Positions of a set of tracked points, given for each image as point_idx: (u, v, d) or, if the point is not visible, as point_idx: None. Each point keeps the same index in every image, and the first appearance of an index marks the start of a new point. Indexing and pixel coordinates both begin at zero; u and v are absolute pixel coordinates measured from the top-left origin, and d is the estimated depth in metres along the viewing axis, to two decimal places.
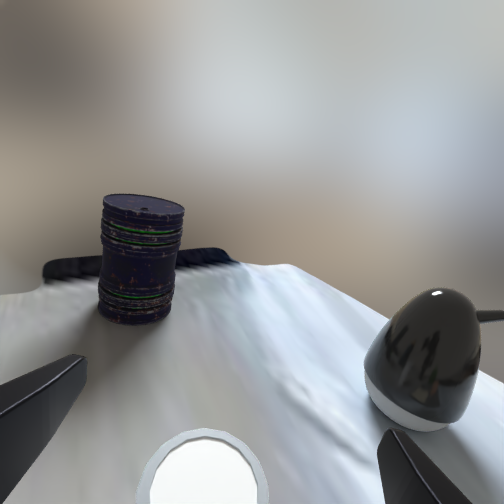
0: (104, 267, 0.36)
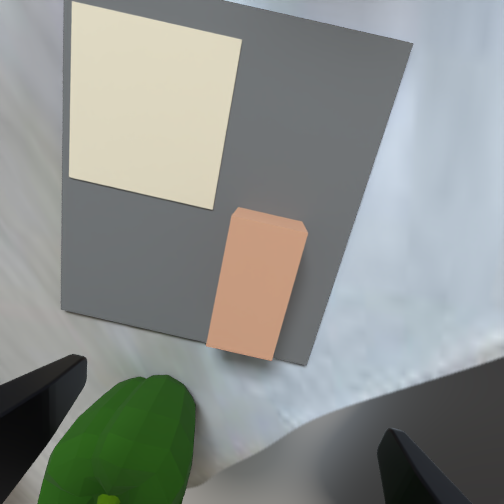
0: None
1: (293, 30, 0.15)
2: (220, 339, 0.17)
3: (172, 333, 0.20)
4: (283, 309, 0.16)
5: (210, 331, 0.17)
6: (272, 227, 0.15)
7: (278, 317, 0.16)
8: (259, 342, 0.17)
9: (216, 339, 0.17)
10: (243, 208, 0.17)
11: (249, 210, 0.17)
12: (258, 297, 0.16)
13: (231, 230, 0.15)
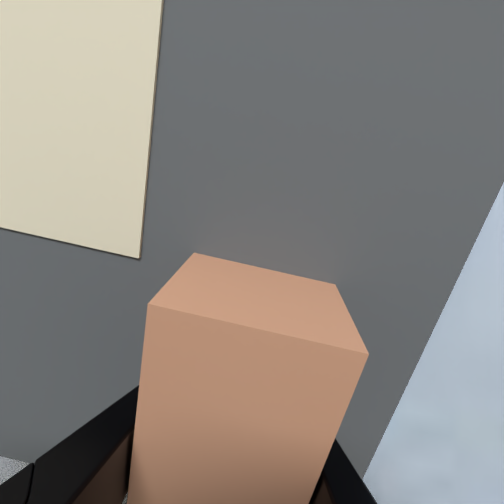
0: None
1: None
2: None
3: None
4: None
5: None
6: (266, 337, 0.05)
7: None
8: None
9: None
10: (204, 256, 0.08)
11: (217, 262, 0.08)
12: (233, 491, 0.06)
13: (152, 340, 0.05)
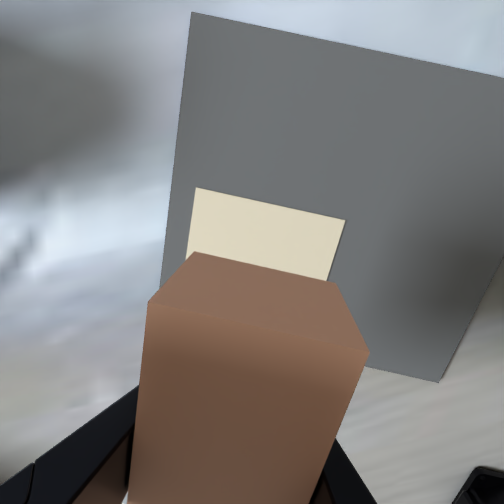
0: None
1: (186, 140, 0.16)
2: None
3: (491, 274, 0.17)
4: None
5: None
6: (266, 334, 0.05)
7: None
8: None
9: None
10: (205, 255, 0.08)
11: (217, 260, 0.08)
12: (234, 490, 0.06)
13: (152, 338, 0.05)
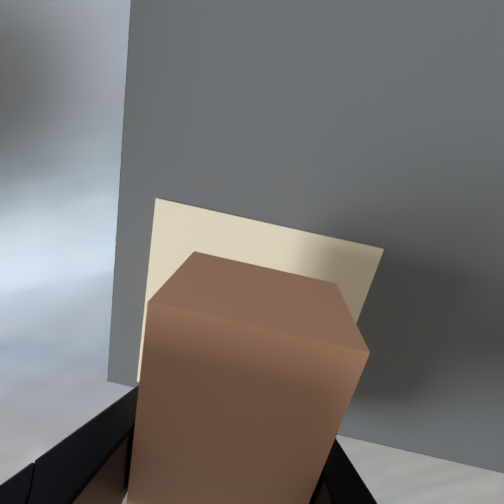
0: None
1: (139, 124, 0.10)
2: None
3: None
4: None
5: None
6: (266, 334, 0.05)
7: None
8: None
9: None
10: (204, 255, 0.08)
11: (217, 260, 0.08)
12: (234, 490, 0.06)
13: (152, 339, 0.05)
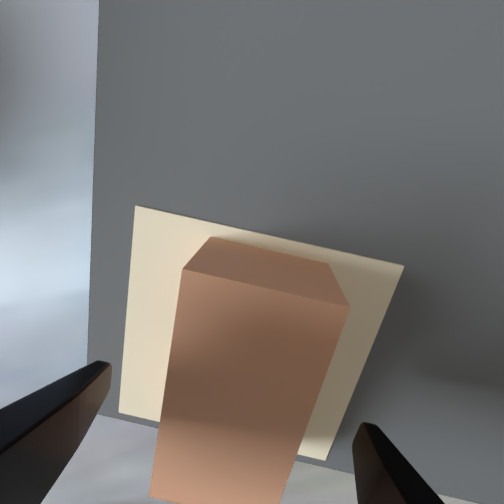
0: None
1: (114, 118, 0.09)
2: (175, 487, 0.09)
3: None
4: (294, 446, 0.08)
5: (155, 474, 0.09)
6: (272, 294, 0.07)
7: (284, 458, 0.08)
8: (247, 497, 0.09)
9: (167, 486, 0.09)
10: (219, 239, 0.09)
11: (230, 244, 0.09)
12: (245, 424, 0.08)
13: (184, 298, 0.07)
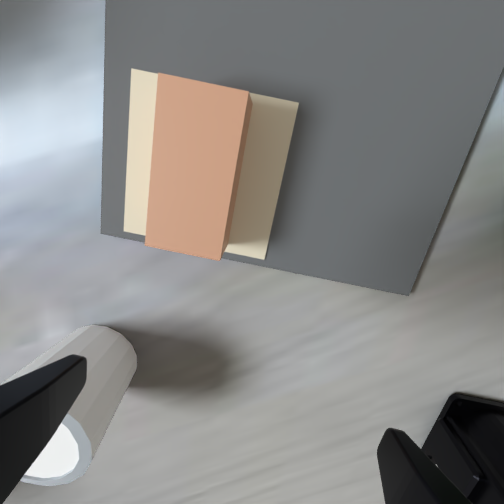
0: None
1: (117, 9, 0.14)
2: (160, 236, 0.15)
3: (460, 163, 0.16)
4: (227, 193, 0.14)
5: (148, 226, 0.15)
6: (207, 86, 0.12)
7: (223, 204, 0.14)
8: (203, 238, 0.15)
9: (156, 236, 0.15)
10: None
11: None
12: (198, 180, 0.14)
13: (159, 92, 0.13)
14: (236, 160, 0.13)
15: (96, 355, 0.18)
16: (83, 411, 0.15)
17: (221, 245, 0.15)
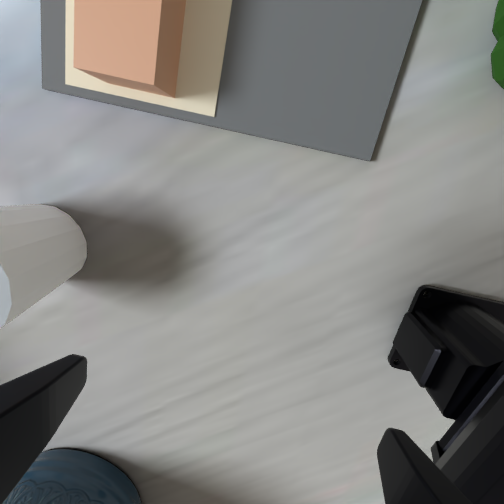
0: None
1: None
2: (89, 54, 0.14)
3: None
4: None
5: (75, 42, 0.13)
6: None
7: (153, 11, 0.13)
8: (135, 56, 0.13)
9: (84, 54, 0.14)
10: None
11: None
12: None
13: None
14: None
15: (33, 217, 0.17)
16: (3, 248, 0.14)
17: (154, 65, 0.14)
